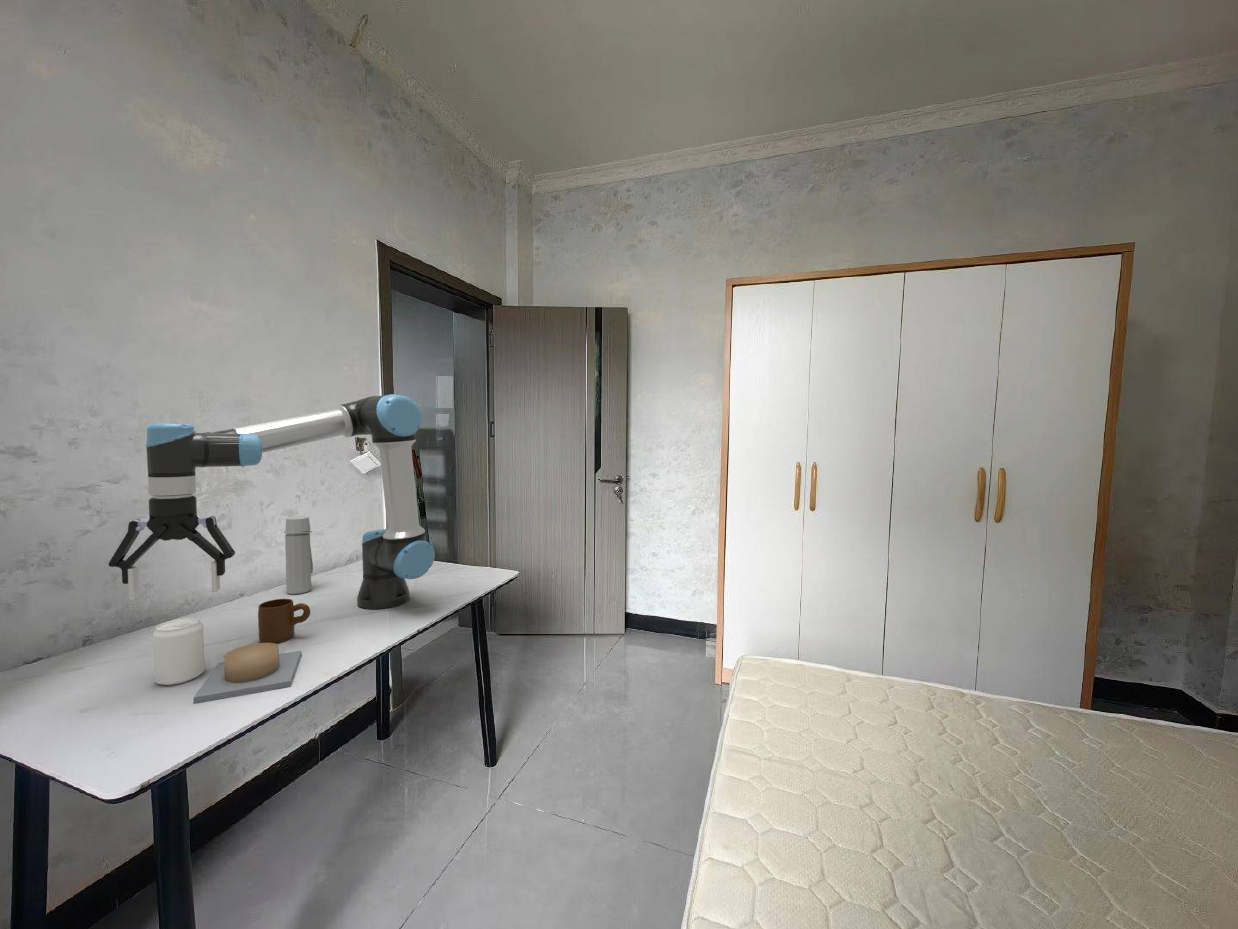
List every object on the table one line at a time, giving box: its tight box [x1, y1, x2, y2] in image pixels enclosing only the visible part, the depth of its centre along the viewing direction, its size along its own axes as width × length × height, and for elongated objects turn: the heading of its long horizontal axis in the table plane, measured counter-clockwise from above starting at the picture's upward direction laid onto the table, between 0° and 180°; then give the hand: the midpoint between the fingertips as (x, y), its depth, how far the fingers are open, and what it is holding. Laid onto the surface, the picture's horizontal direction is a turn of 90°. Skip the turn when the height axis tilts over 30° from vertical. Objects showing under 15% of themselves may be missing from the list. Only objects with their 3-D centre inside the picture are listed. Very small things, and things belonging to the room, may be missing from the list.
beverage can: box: [152, 617, 206, 686], centre depth 106 cm, size 8×8×12 cm
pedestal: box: [193, 642, 302, 704], centre depth 107 cm, size 16×16×6 cm
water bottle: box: [283, 515, 314, 595], centre depth 165 cm, size 9×8×25 cm
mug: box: [257, 598, 311, 644], centre depth 127 cm, size 12×8×9 cm, turn 97°
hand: (176, 594), depth 106 cm, fingers open, 13 cm apart
